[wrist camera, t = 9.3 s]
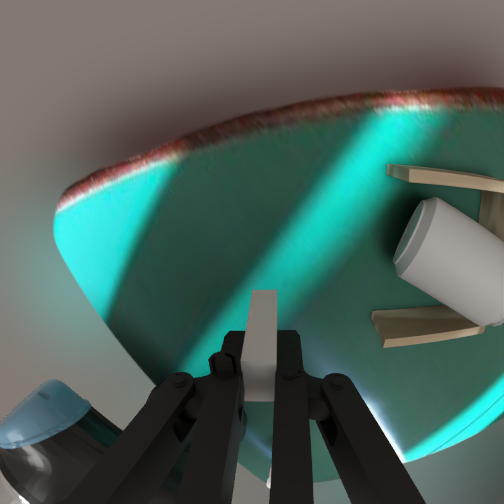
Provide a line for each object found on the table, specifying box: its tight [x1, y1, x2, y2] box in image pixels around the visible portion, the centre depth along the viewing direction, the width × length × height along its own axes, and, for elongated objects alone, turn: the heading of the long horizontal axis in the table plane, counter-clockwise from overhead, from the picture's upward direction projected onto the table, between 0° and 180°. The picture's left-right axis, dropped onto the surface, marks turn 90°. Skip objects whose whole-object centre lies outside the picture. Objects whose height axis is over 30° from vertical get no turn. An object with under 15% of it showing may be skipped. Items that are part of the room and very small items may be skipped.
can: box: [393, 197, 504, 326], centre depth 19 cm, size 8×8×12 cm
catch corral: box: [371, 164, 504, 348], centre depth 22 cm, size 16×13×5 cm
